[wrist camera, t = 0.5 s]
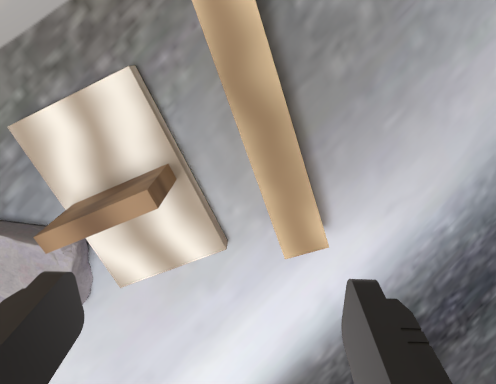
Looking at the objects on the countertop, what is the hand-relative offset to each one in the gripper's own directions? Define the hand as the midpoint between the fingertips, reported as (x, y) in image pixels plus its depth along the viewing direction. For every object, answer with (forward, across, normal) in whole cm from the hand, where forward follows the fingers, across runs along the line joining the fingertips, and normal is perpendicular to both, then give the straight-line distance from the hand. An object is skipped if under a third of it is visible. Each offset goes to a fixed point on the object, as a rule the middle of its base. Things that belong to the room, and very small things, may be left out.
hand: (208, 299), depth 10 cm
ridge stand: (+21, +11, +5) cm, 24 cm away
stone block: (+22, +22, +14) cm, 34 cm away
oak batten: (+22, -2, 0) cm, 22 cm away
